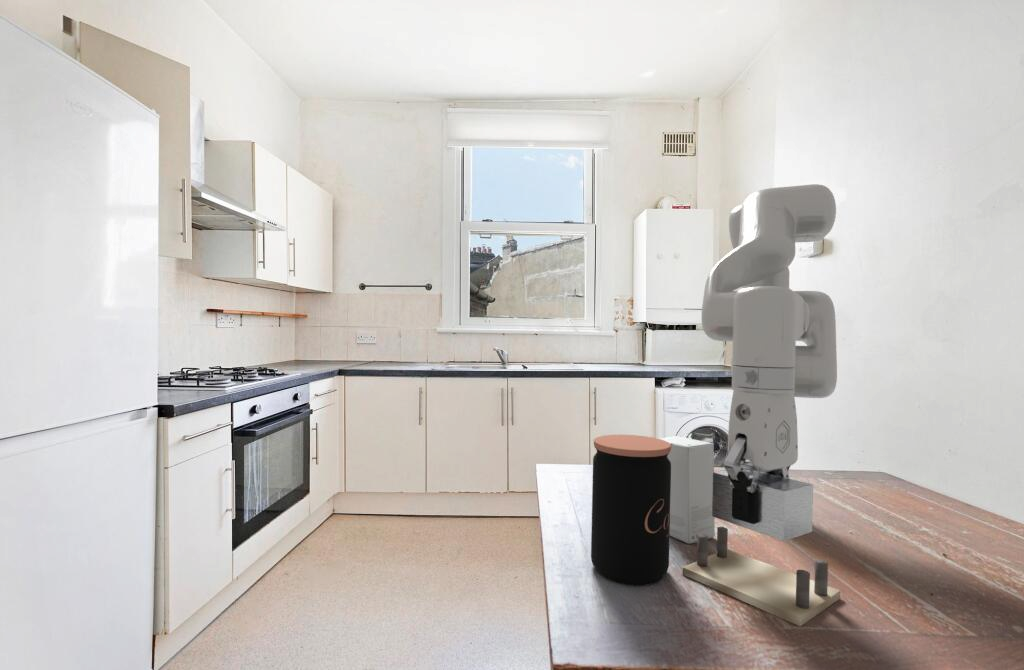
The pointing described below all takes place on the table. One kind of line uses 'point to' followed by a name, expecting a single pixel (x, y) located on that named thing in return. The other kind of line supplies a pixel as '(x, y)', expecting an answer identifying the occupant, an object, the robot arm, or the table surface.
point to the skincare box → (691, 488)
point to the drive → (769, 505)
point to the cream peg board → (762, 581)
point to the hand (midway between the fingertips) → (759, 514)
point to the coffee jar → (631, 508)
